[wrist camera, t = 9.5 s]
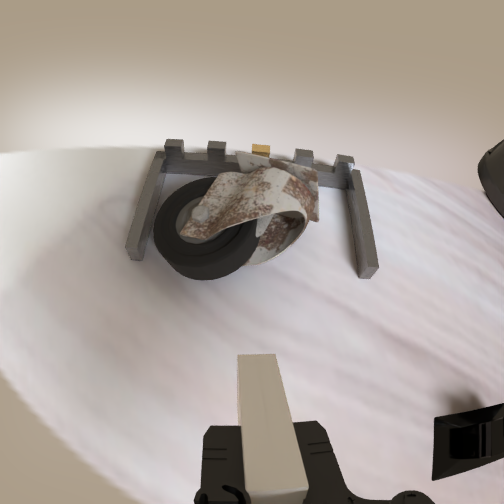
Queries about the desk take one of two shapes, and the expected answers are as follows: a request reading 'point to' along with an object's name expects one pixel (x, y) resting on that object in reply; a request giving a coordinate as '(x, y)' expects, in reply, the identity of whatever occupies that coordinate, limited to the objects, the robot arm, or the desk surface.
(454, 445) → the black mounting bracket
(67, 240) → the desk surface
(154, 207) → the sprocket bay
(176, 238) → the caster wheel
